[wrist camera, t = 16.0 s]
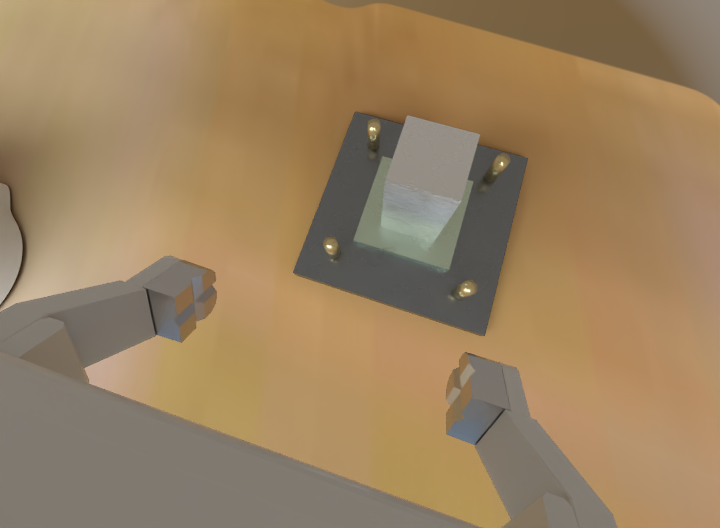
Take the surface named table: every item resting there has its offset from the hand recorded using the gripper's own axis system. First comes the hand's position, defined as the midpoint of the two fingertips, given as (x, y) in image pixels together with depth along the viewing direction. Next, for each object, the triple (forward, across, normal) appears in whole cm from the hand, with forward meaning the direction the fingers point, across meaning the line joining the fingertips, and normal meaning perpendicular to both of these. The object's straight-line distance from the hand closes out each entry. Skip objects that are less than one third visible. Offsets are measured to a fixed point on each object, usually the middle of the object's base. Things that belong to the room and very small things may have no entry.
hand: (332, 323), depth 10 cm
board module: (+22, -2, +4) cm, 22 cm away
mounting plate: (+22, -2, +5) cm, 23 cm away
